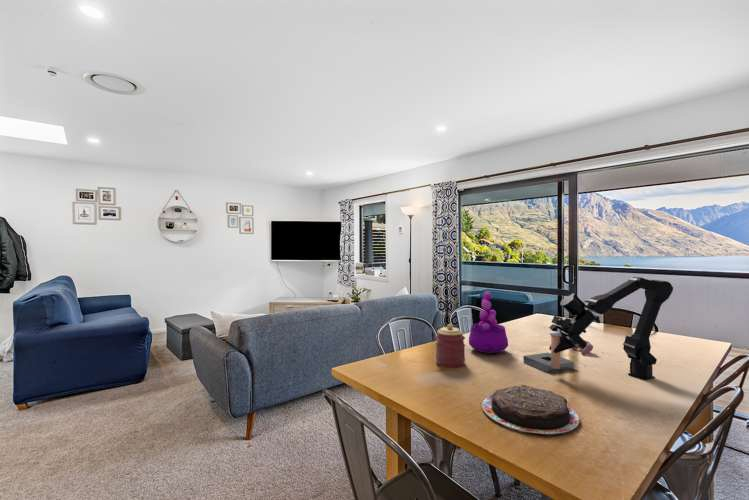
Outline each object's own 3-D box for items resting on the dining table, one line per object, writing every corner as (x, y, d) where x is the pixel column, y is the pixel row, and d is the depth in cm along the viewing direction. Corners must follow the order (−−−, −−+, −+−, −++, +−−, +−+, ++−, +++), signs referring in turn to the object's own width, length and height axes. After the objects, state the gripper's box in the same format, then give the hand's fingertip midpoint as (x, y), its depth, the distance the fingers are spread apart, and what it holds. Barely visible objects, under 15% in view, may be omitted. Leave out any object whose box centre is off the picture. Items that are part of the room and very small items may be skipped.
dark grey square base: (574, 368, 149) (574, 361, 149) (548, 372, 144) (548, 365, 144) (548, 359, 162) (548, 352, 162) (523, 362, 158) (523, 355, 158)
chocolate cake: (465, 414, 110) (465, 393, 110) (505, 388, 130) (505, 371, 130) (561, 450, 90) (561, 425, 90) (591, 413, 110) (591, 392, 110)
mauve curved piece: (590, 358, 167) (596, 345, 167) (581, 354, 167) (588, 341, 167) (578, 352, 177) (584, 340, 177) (570, 348, 177) (576, 336, 177)
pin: (563, 368, 139) (563, 333, 139) (555, 369, 137) (555, 334, 137) (555, 365, 143) (555, 330, 142) (547, 366, 141) (547, 331, 141)
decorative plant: (511, 358, 164) (510, 294, 164) (470, 356, 168) (469, 293, 168) (504, 346, 183) (504, 289, 183) (467, 345, 186) (467, 288, 186)
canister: (462, 358, 164) (462, 321, 164) (467, 368, 151) (466, 327, 151) (434, 358, 165) (434, 320, 165) (436, 367, 152) (436, 327, 152)
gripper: (553, 305, 149) (527, 331, 149) (578, 313, 130) (548, 343, 131) (572, 323, 149) (546, 349, 149) (600, 334, 130) (570, 364, 131)
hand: (552, 351), depth 140 cm, fingers closed on pin, 3 cm apart
